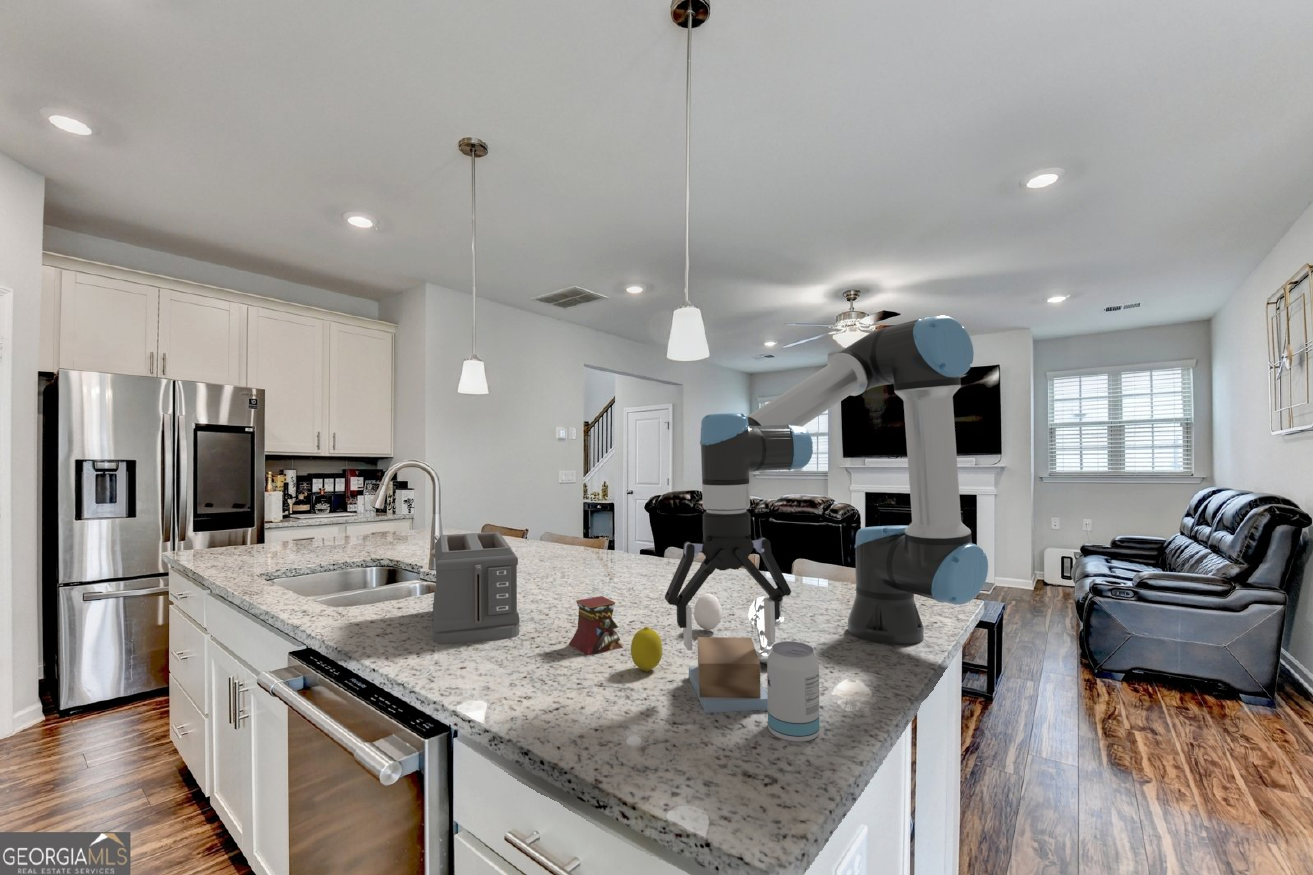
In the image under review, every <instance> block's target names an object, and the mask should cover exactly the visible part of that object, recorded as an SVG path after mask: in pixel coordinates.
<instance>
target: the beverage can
mask: <svg viewBox="0 0 1313 875" xmlns="http://www.w3.org/2000/svg"><path fill="white" fill-rule="evenodd" d="M775 643H776V644H774V645H773V646H772V651H771V653H770V654H769V656H768V658H767V664H766V666H767V669H766V670H767V671H766V672H767V674H766V675H767V676H766V678H767V681H766V682H767V685H766V686H767V688H766V689H767V690H766V691H767V693H768V710H767V729H768V731H769V732H770V733H771V734H772V735H773V736H774V737H776V738H778V739H781V740H785V741H788V742H795V743H798V742H799V743H804V742H809V741H813V740H815V739H816V738H817V737H819V735H820V731H821V730H820V723H821V722H820V661H819V660H818V658H817V656H816V654H815V652H814V650H815V649H814V648H813V647H812V646H811V645H809V644H807V643H803V642H800V641H780V642H775Z"/></svg>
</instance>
